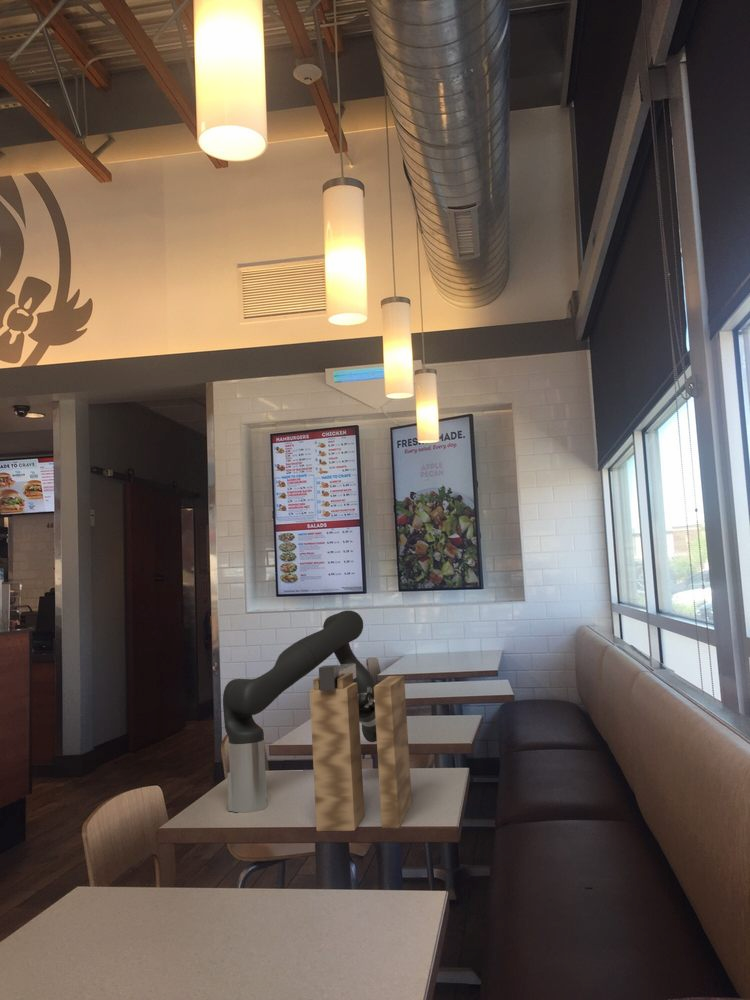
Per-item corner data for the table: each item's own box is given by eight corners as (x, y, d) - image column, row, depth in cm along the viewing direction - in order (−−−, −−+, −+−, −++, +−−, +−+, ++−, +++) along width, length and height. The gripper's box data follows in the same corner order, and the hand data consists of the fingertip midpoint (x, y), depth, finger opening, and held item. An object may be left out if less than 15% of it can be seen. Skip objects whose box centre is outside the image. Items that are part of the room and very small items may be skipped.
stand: (316, 830, 192) (309, 679, 196) (339, 803, 215) (332, 669, 219) (397, 830, 189) (388, 676, 192) (411, 802, 212) (403, 666, 216)
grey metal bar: (334, 689, 193) (333, 667, 194) (319, 690, 194) (318, 667, 194) (356, 677, 218) (355, 657, 218) (342, 678, 218) (341, 658, 219)
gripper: (343, 697, 238) (328, 677, 225) (391, 695, 235) (379, 675, 222) (341, 723, 234) (326, 704, 221) (390, 722, 231) (378, 703, 218)
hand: (352, 690), depth 221 cm, fingers open, 8 cm apart
